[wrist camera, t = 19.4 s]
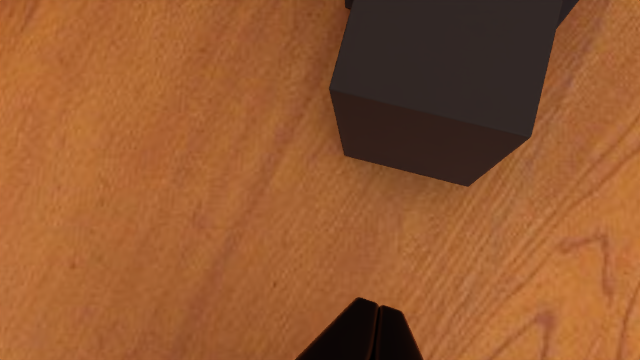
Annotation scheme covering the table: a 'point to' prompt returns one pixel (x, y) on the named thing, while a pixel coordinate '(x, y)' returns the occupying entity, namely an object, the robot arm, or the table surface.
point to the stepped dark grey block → (441, 82)
